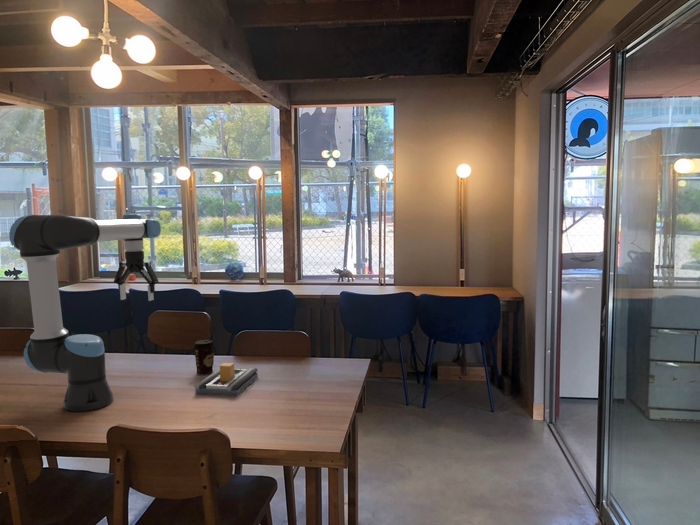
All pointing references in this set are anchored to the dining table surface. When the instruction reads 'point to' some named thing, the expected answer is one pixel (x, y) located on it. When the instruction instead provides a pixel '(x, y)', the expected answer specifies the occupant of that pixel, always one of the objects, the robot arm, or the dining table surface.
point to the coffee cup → (204, 356)
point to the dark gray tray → (234, 384)
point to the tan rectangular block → (227, 372)
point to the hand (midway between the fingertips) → (137, 299)
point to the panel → (226, 385)
